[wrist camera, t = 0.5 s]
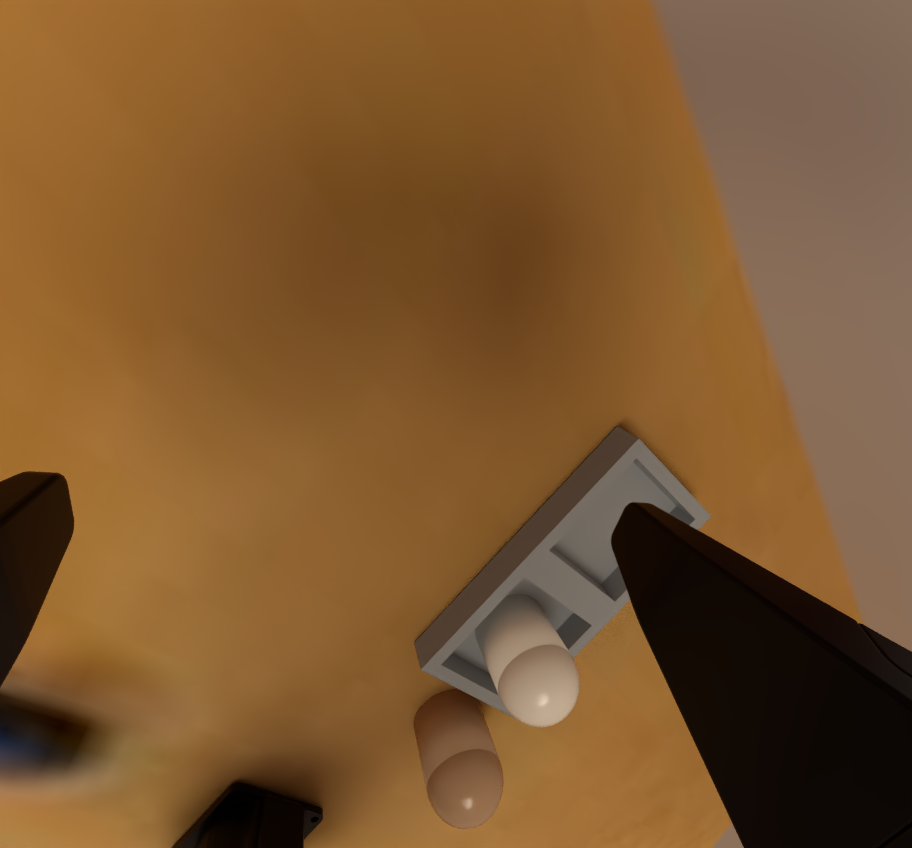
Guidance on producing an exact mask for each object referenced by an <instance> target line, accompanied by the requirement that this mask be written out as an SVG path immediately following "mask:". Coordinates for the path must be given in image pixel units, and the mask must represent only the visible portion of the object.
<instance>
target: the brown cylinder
mask: <svg viewBox="0 0 912 848" xmlns="http://www.w3.org/2000/svg"><path fill="white" fill-rule="evenodd" d="M414 730H415V735H416V740H417V745H418V750H419V755H420V760H421V765H422V770H423V775H424V779H425V784H426V789H427V794H428V798H429V801H430V803H431V805H432V807H433V809H434V811H435V812H436V814H437V815H438V816H439V817H440V818H441V819H442V820H443V821H444V822H445V823H447V824H449V825H450V826H452V827H455V828H459V829H472V828H475V827H478V826H480V825H482V824H483V823H485V822H486V821H487V820H488V819H489V818H490V817H491V816H492V815H493V813H494V812H495V810H496V809H497V807H498V805H499V802H500V800H501V796H502V792H503V771H502V767H501V763H500V760H499V757H498V754H497V752H496V749H495V746H494V743H493V740H492V738H491V735H490V732H489V729H488V726H487V724H486V721H485V718H484V715H483V712H482V710H481V707H480V704H479V701H478V699H477V698H475V697H473V696H471V695H469V694H467V693H465V692H463V691H461V690H448V691H444V692H441V693H439V694H436V695H434V696H433V697H431V698H430V699H428V700H427V701H426V702H425V703H424V704H423V705H422V706H421V707H420V708H419V710H418V711H417V713H416V715H415V718H414Z"/></svg>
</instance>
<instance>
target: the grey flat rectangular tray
mask: <svg viewBox="0 0 912 848" xmlns="http://www.w3.org/2000/svg"><path fill="white" fill-rule="evenodd" d="M631 502H642V503H650V504H653V505H655V506H656V507H658V508H660V509H662V510H663V511H665V512H667V513H669V514H670V515H672V516H674V517H676V518H677V519H679V520H681V521H683V522H684V523H686V524H688V525H690V526H691V527H693V528H695V529H697V530H698V529H699V528H700V527H701V526H702V525H703V524H704V523H705V522H706V521H707V520H708V519H709V518H710V517H711V515H710V514H709V513H708V512H707V511H706V510H705V509H704V508H703V507H702V506H701V505H700V504H699V502H698V501H697V500H696V499H695V498H694V497H693V496H692V495H691V494H690V493H689V492H688V491H687V490H686V488H685V487H684V486H683V485H682V484H681V483H680V482H679V481H678V480H677V479H676V478H675V477H674V476H673V475H672V473H671V472H670V471H669V470H668V469H667V468H666V467H665V466H664V465H663V464H662V463H661V462H660V461H659V459H658V458H657V457H656V456H655V455H654V454H653V453H652V452H651V451H650V450H649V449H648V448H647V447H646V446H645V444H644V443H643V442H642V441H641V440H640V439H639V438H637V437H635V436H634V435H632V434H630V433H629V432H627V431H625V430H623V429H622V428H620V427H618V426H617V427H616V428H615V429H614V430H613V431H612V432H611V433H610V434H609V435H608V436H607V437H606V438H605V439H604V440H603V441H602V443H601V444H600V445H599V446H598V447H597V448H596V449H595V450H594V451H593V452H592V453H591V454H590V455H589V456H588V457H587V459H586V460H585V461H584V462H583V463H582V464H581V465H580V466H579V467H578V468H577V469H576V470H575V471H574V472H573V474H572V475H571V476H570V477H569V478H568V479H567V480H566V481H565V482H564V483H563V484H562V485H561V486H560V487H559V488H558V490H557V491H556V492H555V493H554V494H553V495H552V496H551V497H550V498H549V499H548V500H547V501H546V502H545V503H544V504H543V506H542V507H541V508H540V509H539V510H538V511H537V512H536V513H535V514H534V515H533V516H532V517H531V518H530V519H529V521H528V522H527V523H526V524H525V525H524V526H523V527H522V528H521V529H520V530H519V531H518V532H517V533H516V534H515V535H514V537H513V538H512V539H511V540H510V541H509V542H508V543H507V544H506V545H505V546H504V547H503V548H502V549H501V550H500V551H499V553H498V554H497V555H496V556H495V557H494V558H493V559H492V560H491V561H490V562H489V563H488V564H487V565H486V566H485V568H484V569H483V570H482V571H481V572H480V573H479V574H478V575H477V576H476V577H475V578H474V579H473V580H472V581H471V582H470V584H469V585H468V586H467V587H466V588H465V589H464V590H463V591H462V592H461V593H460V594H459V595H458V596H457V597H456V598H455V600H454V601H453V602H452V603H451V604H450V605H449V606H448V607H447V608H446V609H445V610H444V611H443V612H442V613H441V615H440V616H439V617H438V618H437V619H436V620H435V621H434V622H433V623H432V624H431V625H430V626H429V627H428V628H427V629H426V631H425V632H424V633H423V634H422V635H421V636H420V637H419V638H418V639H417V640H416V641H415V642H414V643H415V648H416V652H417V656H418V660H419V664H420V668H421V670H423V671H425V672H427V673H428V674H430V675H432V676H434V677H436V678H438V679H440V680H442V681H444V682H446V683H448V684H450V685H452V686H454V687H456V688H457V689H459V690H461V691H463V692H465V693H467V694H469V695H471V696H473V697H475V698H477V699H479V700H481V701H483V702H485V703H487V704H488V705H490V706H492V707H494V708H496V709H498V710H500V711H502V712H504V713H506V714H508V715H510V716H512V715H511V714H510V713H509V712H508V710H507V709H506V708H505V706H504V705H503V703H502V701H501V699H500V697H499V695H498V692H497V690H496V687H495V685H494V682H493V680H492V678H491V675H490V673H489V670H488V668H487V665H486V663H485V660H484V658H483V656H482V653H481V651H480V648H479V646H478V643H477V641H476V638H475V628H476V627H477V626H478V625H479V624H480V623H481V622H482V621H483V620H484V619H485V618H486V617H487V616H488V615H489V614H490V613H491V611H492V610H493V609H494V608H495V607H496V606H497V605H498V604H499V603H500V602H501V601H502V600H503V599H504V598H505V597H506V596H509V595H517V594H520V595H526V596H529V597H531V598H533V599H535V600H536V601H537V602H538V603H539V605H540V606H541V608H542V610H543V611H544V613H545V614H546V616H547V617H548V619H549V621H550V622H551V624H552V625H553V627H554V629H555V630H556V632H557V633H558V635H559V637H560V638H561V640H562V641H563V643H564V644H565V646H566V648H567V649H568V651H569V652H570V654H571V656H572V657H573V658H574V657H575V656H576V655H577V654H578V653H579V652H580V651H581V650H582V649H583V648H584V646H585V645H586V644H587V643H588V642H589V641H590V640H591V639H592V638H593V637H594V636H595V635H596V634H597V633H598V632H599V631H600V630H601V629H602V628H603V627H604V626H605V625H606V624H607V623H608V622H609V621H610V620H611V619H612V618H613V617H614V616H615V615H616V614H617V613H618V612H619V611H620V609H621V608H622V607H623V606H624V605H625V604H626V603H627V602H628V601H629V600H630V597H629V594H628V592H627V589H626V586H625V583H624V581H623V578H622V575H621V572H620V569H619V567H618V564H617V561H616V558H615V555H614V553H613V550H612V547H611V536H612V533H613V531H614V528H615V526H616V524H617V522H618V520H619V518H620V516H621V514H622V512H623V510H624V508H625V506H626V505H628V504H629V503H631ZM512 717H513V716H512ZM514 718H515V717H514Z"/></svg>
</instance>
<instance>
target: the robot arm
mask: <svg viewBox="0 0 912 848" xmlns="http://www.w3.org/2000/svg"><path fill="white" fill-rule="evenodd" d="M73 530H74V516H73V511H72V506H71V500H70V495H69V489H68V484H67V481H66V479H65V477H64V476H63V475H61V474H59V473H51V472H31V471H28V472H22V473H20V474H17V475H15V476H12V477H10V478H8V479H5V480H3V481H1V482H0V687H1V685H2V683H3V682H4V680H5V678H6V677H7V675H8V673H9V671H10V670H11V668H12V666H13V664H14V663H15V661H16V659H17V657H18V655H19V654H20V652H21V650H22V648H23V646H24V644H25V643H26V640H27V638H28V636H29V634H30V632H31V630H32V628H33V625H34V623H35V621H36V619H37V616H38V614H39V612H40V609H41V607H42V605H43V602H44V600H45V598H46V596H47V593H48V591H49V589H50V586H51V584H52V582H53V579H54V577H55V575H56V572H57V570H58V568H59V565H60V563H61V561H62V559H63V556H64V554H65V552H66V549H67V547H68V545H69V542H70V540H71V537H72V534H73ZM611 547H612V550H613V553H614V555H615V558H616V561H617V564H618V567H619V569H620V572H621V575H622V578H623V581H624V583H625V586H626V589H627V592H628V594H629V597H630V600H631V603H632V606H633V608H634V611H635V614H636V616H637V619H638V621H639V624H640V626H641V628H642V630H643V633H644V635H645V637H646V639H647V641H648V643H649V646H650V648H651V650H652V652H653V654H654V656H655V658H656V661H657V663H658V665H659V667H660V669H661V671H662V673H663V676H664V678H665V680H666V682H667V684H668V686H669V688H670V691H671V693H672V695H673V697H674V699H675V701H676V703H677V706H678V708H679V710H680V712H681V714H682V716H683V718H684V721H685V723H686V725H687V727H688V729H689V731H690V733H691V736H692V738H693V740H694V742H695V744H696V746H697V748H698V751H699V753H700V755H701V757H702V759H703V761H704V763H705V766H706V768H707V770H708V772H709V774H710V776H711V778H712V781H713V783H714V785H715V787H716V789H717V791H718V793H719V796H720V798H721V800H722V802H723V804H724V806H725V808H726V811H727V813H728V815H729V817H730V819H731V821H732V823H733V826H734V828H735V830H736V832H737V834H738V836H739V838H740V840H741V843H742V845H743V847H744V848H912V652H911V651H909V650H907V649H906V648H904V647H902V646H900V645H898V644H897V643H895V642H893V641H891V640H889V639H888V638H886V637H884V636H882V635H881V634H879V633H877V632H875V631H873V630H872V629H870V628H868V627H867V626H865V625H863V624H860V623H859V624H858V623H857V622H856V620H854V619H852V618H851V617H849V616H847V615H845V614H844V613H842V612H840V611H838V610H837V609H835V608H833V607H831V606H830V605H828V604H826V603H824V602H823V601H821V600H819V599H817V598H816V597H814V596H812V595H810V594H809V593H807V592H805V591H803V590H802V589H800V588H798V587H796V586H795V585H793V584H791V583H789V582H788V581H786V580H784V579H782V578H781V577H779V576H777V575H775V574H774V573H772V572H770V571H768V570H767V569H765V568H763V567H761V566H760V565H758V564H756V563H754V562H753V561H751V560H749V559H747V558H746V557H744V556H742V555H740V554H739V553H737V552H735V551H733V550H732V549H730V548H728V547H726V546H725V545H723V544H721V543H719V542H718V541H716V540H714V539H712V538H711V537H709V536H707V535H705V534H704V533H702V532H700V531H698V530H697V529H695V528H693V527H691V526H690V525H688V524H686V523H684V522H683V521H681V520H679V519H677V518H676V517H674V516H672V515H670V514H669V513H667V512H665V511H663V510H662V509H660V508H658V507H656V506H655V505H653V504H650V503H642V502H631V503H629V504H628V505H626V506H625V508H624V510H623V512H622V514H621V516H620V518H619V520H618V522H617V524H616V526H615V528H614V531H613V533H612V536H611ZM322 819H323V810H322V808H320V807H317V806H314V805H311V804H308V803H304V802H301V801H298V800H295V799H292V798H289V797H285V796H282V795H279V794H276V793H273V792H269V791H266V790H263V789H260V788H257V787H253V786H250V785H247V784H244V783H235V784H233V785H231V786H230V787H229V788H228V789H227V790H226V791H225V793H224V794H223V795H222V796H221V797H220V798H219V799H218V800H217V801H216V802H215V803H214V804H213V806H212V807H211V808H210V809H209V810H208V811H207V812H206V813H205V814H204V815H203V816H202V817H201V818H200V820H199V821H198V822H197V823H196V824H195V825H194V826H193V827H192V828H191V829H190V830H189V831H188V833H187V834H186V835H185V836H184V837H183V838H182V839H181V840H180V841H179V842H178V843H177V844H176V845H175V847H174V848H304V839H305V838H306V837H307V836H308V835H309V834H310V833H311V832H312V831H313V829H314V828H315V827H316V826H317V825H318V824H319V823H320V822H321V821H322Z"/></svg>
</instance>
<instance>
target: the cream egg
mask: <svg viewBox="0 0 912 848" xmlns="http://www.w3.org/2000/svg"><path fill="white" fill-rule="evenodd" d="M475 638H476V641H477V643H478V646H479V648H480V651H481V653H482V656H483V658H484V660H485V663H486V665H487V668H488V670H489V673H490V675H491V678H492V680H493V682H494V685H495V687H496V690H497V692H498V695H499V697H500V699H501V701H502V703H503V705H504V706H505V708H506V709H507V710H508V712H509V713H510V714H511V715H512V716H513V717H515V718H516V719H517V720H519V721H520V722H522V723H524V724H527V725H530V726H534V727H548V726H551V725H554V724H557V723H559V722H560V721H562V720H563V719H564V718H565V717H566V716H568V714H569V713H570V712H571V711H572V709H573V707H574V705H575V703H576V701H577V698H578V694H579V674H578V669H577V667H576V664H575V661H574V659H573V657H572V656H571V654H570V652H569V651H568V649H567V648H566V646H565V644H564V643H563V641H562V640H561V638H560V637H559V635H558V633H557V632H556V630H555V629H554V627H553V625H552V624H551V622H550V621H549V619H548V617H547V616H546V614H545V613H544V611H543V610H542V608H541V606H540V605H539V603H538V602H537V601H536V600H535V599H533V598H531V597H529V596H526V595H520V594H517V595H509V596H506V597H505V598H504V599H503V600H502V601H501V602H500V603H499V604H498V605H497V606H496V607H495V608H494V609H493V610H492V611H491V613H490V614H489V615H488V616H487V617H486V618H485V619H484V620H483V621H482V622H481V623H480V624H479V625H478V626H477V627H476V628H475Z"/></svg>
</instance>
